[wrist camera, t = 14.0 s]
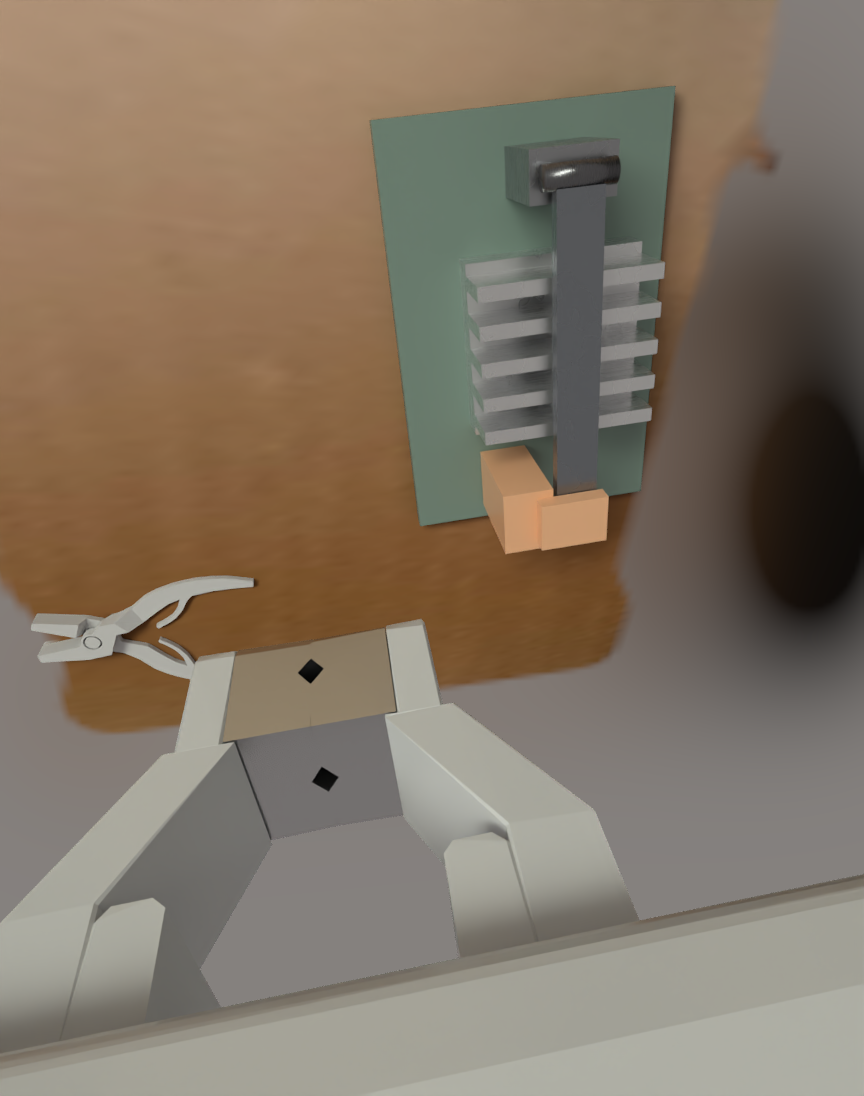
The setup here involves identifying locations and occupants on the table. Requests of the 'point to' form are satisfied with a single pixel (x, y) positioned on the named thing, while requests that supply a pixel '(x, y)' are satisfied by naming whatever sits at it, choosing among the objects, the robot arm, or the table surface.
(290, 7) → the table surface
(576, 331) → the strap
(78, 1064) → the robot arm
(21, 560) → the table surface
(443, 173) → the board
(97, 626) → the pliers
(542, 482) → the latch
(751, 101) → the table surface
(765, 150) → the table surface
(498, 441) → the heatsink
